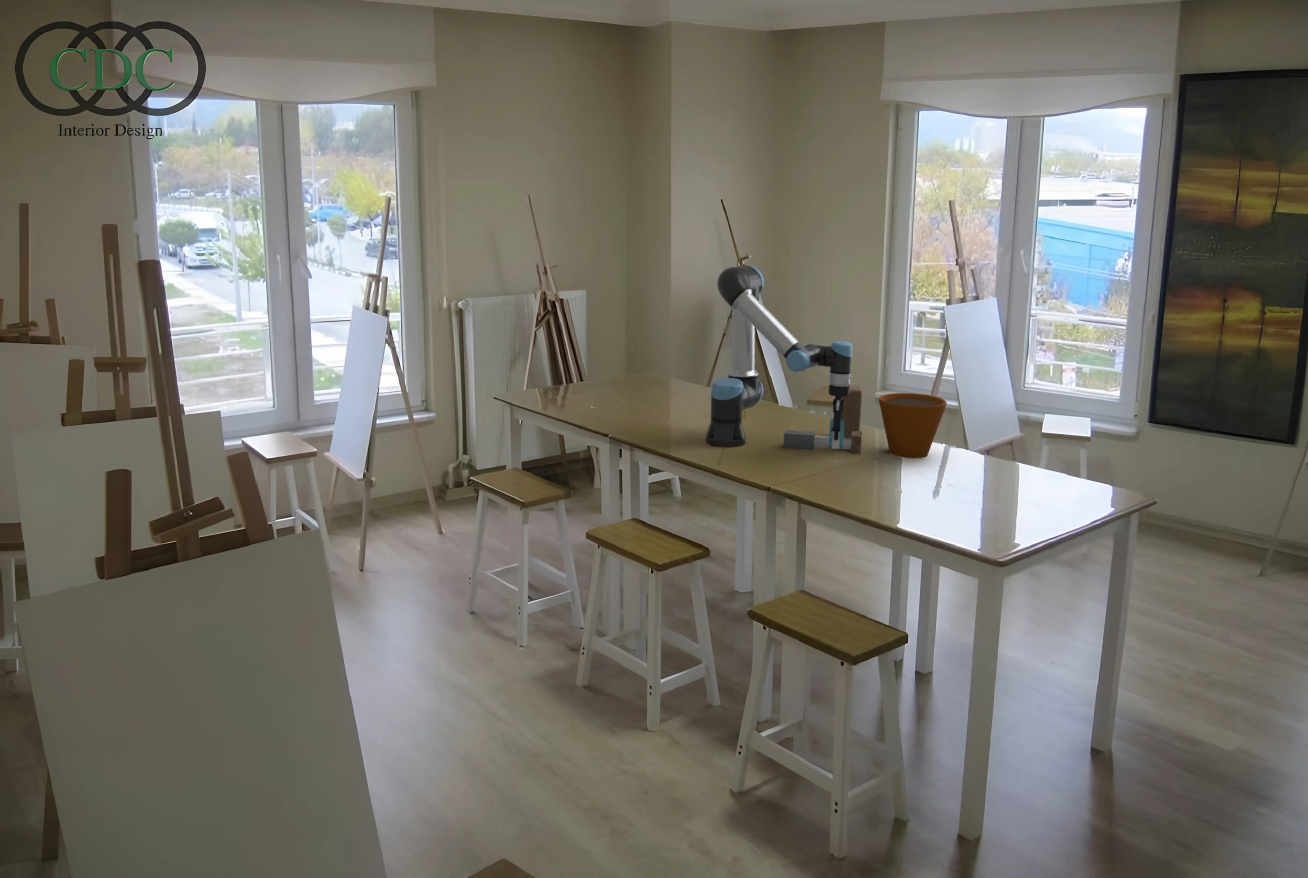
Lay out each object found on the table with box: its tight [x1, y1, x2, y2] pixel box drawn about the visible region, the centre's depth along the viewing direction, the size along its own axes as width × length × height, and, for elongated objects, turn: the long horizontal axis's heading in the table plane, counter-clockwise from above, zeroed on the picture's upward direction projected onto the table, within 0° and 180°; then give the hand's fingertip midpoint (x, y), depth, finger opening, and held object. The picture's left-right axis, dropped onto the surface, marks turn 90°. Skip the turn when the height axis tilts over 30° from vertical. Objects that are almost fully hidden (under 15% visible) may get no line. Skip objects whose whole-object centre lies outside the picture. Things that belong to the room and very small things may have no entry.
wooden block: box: [841, 384, 863, 438], centre depth 400 cm, size 10×10×20 cm
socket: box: [850, 430, 863, 455], centre depth 383 cm, size 4×8×6 cm, turn 168°
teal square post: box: [814, 417, 852, 450], centre depth 385 cm, size 19×4×10 cm, turn 78°
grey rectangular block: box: [782, 429, 816, 451], centre depth 387 cm, size 11×6×6 cm, turn 78°
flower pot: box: [878, 392, 947, 459], centre depth 380 cm, size 24×24×20 cm
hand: (835, 446), depth 385 cm, fingers closed on teal square post, 4 cm apart
